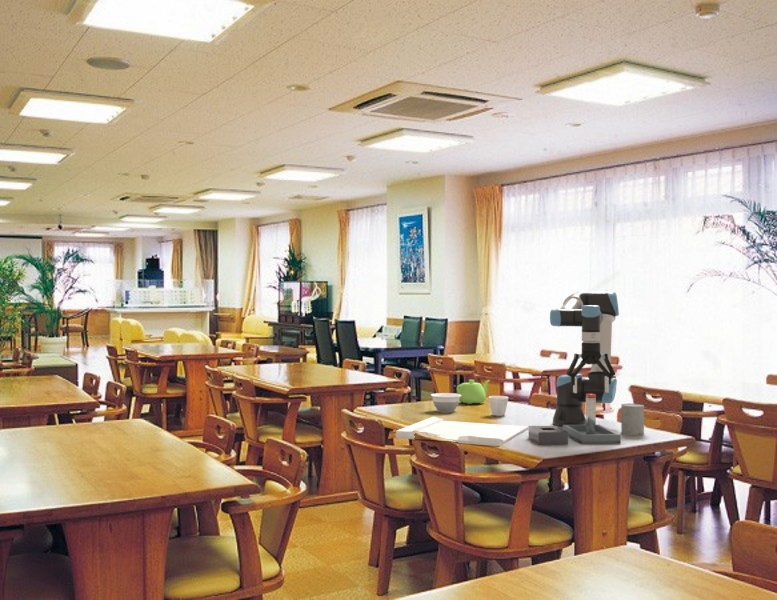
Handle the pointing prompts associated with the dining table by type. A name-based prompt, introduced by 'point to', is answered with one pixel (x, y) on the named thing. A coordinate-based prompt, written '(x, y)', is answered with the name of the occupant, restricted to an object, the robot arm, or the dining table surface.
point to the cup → (498, 405)
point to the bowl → (446, 401)
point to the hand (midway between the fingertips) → (590, 392)
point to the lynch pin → (590, 413)
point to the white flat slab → (463, 431)
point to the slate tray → (592, 435)
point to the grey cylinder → (632, 419)
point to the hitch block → (548, 435)
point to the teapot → (472, 392)
